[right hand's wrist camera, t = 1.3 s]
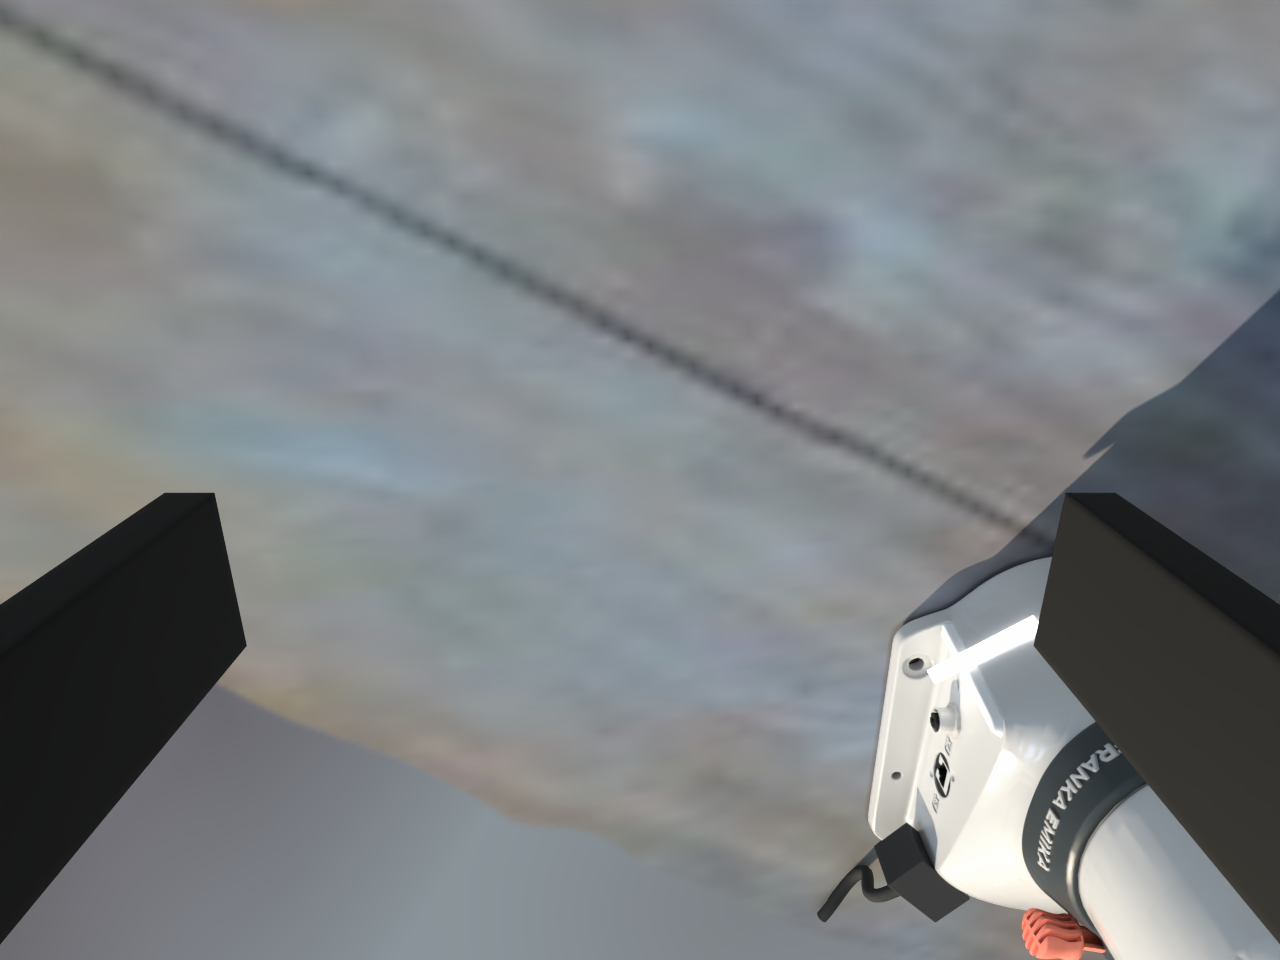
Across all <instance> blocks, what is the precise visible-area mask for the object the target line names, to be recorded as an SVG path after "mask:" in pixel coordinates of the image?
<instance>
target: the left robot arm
mask: <svg viewBox="0 0 1280 960" xmlns="http://www.w3.org/2000/svg"><path fill="white" fill-rule="evenodd" d="M1051 560H1052V557H1046V558H1041V559H1037V560H1033V561H1030V562H1027V563H1023V564H1021V565H1018V566H1015V567H1013V568H1011V569H1008V570H1006V571H1004V572H1002V573H1000V574H998V575H996V576H994V577H993V578H991V579H989V580H987V581H986V582H984V583H983V584H981V585H980V586H978V587H977V588H976V589H974V590H973V591H972V592H971V593H969V594H968V595H967V596H965V597H964V598H963V599H961V600H960V601H958V602H957V603H955V604H954V605H952V606H951V607H949V608H947V609H945V610H941V611H938V612H935V613H932V614H929V615H926V616H923V617H920V618H917V619H915V620H913V621H910V622H908V623H907V624H905V625H903V626H902V627H901V628H900V629H899V630H898V631H897V632H896V634H895V636H894V639H893V644H892V651H891V658H890V665H889V672H888V679H887V686H886V693H885V700H884V707H883V714H882V720H881V727H880V734H879V741H878V748H877V755H876V762H875V769H874V776H873V783H872V790H871V797H870V804H869V812H868V822H869V824H870V826H871V828H872V830H873V832H874V834H875V835H876V836H877V837H878V838H879V839H881V840H882V841H880V842H879V843H878V844H876V845H875V846H874V847H875V850H876V853H877V856H878V859H879V862H880V865H881V867H882V870H883V873H884V876H885V879H886V882H887V886H885V887H882V888H879V889H874V879H873V873H872V870H871V869H870V868H869V867H867V866H858V867H856V868H854V869H853V870H852V871H850V872H849V873H848V874H847V875H846V876H845V877H844V879H843V880H842V881H841V882H840V883H839V885H838V886H837V887H836V889H835V890H834V892H833V893H832V895H831V896H830V897H829V899H828V900H827V902H826V903H825V904H824V906H823V907H822V908H821V909H820V910H819V912H818V913H817V914H818V917H819V919H820V920H821V921H823V922H826V921H827V920H828V919H829V918H830V916H831V915H832V914H833V913H834V911H835V910H836V909H837V907H838V906H839V904H840V903H841V902H842V900H843V899H844V897H845V896H846V895H847V893H848V892H849V891H850V889H851V888H852V887H853V886H854V885H855V884H856V883H857V882H858V881H859V880H861V884H862V891H863V894H864V896H865V897H866V898H867V899H868V900H869V901H872V902H885V901H889V900H891V899H894V898H896V897H899V896H902V897H903V898H904V899H905V900H907V901H908V902H909V903H911V904H912V905H913V906H915V907H916V908H917V909H918V910H920V911H921V912H922V913H924V914H925V915H926V916H927V917H929V918H930V919H931V920H933V921H934V922H937V921H938V920H940V919H941V918H943V917H944V916H946V915H947V914H949V913H950V912H952V911H953V910H954V909H956V908H957V907H959V906H960V905H962V904H963V903H965V902H966V901H968V900H969V899H970V898H969V896H968V895H970V896H973V897H975V898H977V899H980V900H983V901H987V902H990V903H993V904H997V905H1001V906H1005V907H1010V908H1016V909H1022V910H1027V911H1026V913H1025V915H1024V917H1023V922H1022V930H1024V931H1023V939H1024V941H1026V948H1027V949H1028V950H1030V954H1031V955H1032V956H1036V958H1041V959H1052V958H1061V959H1063V960H1079V959H1080V958H1081V956H1082V953H1083V950H1088V951H1095V952H1101V953H1103V954H1104V956H1105V958H1106V959H1108V960H1280V944H1279V943H1278V942H1277V940H1276V939H1275V938H1274V937H1273V935H1272V934H1271V933H1270V932H1269V931H1268V929H1267V928H1266V927H1265V926H1264V925H1263V923H1262V922H1261V921H1260V920H1259V919H1258V917H1257V916H1256V915H1255V914H1254V912H1253V911H1252V910H1251V909H1250V908H1249V906H1248V905H1247V904H1246V903H1245V902H1244V900H1243V899H1242V898H1241V897H1240V896H1239V894H1238V893H1237V892H1236V891H1235V889H1234V888H1233V887H1232V886H1231V885H1230V883H1229V882H1228V881H1227V880H1226V879H1225V877H1224V876H1223V875H1222V874H1221V872H1220V871H1219V870H1218V869H1217V868H1216V866H1215V865H1214V864H1213V863H1212V862H1211V860H1210V859H1209V858H1208V857H1207V856H1206V854H1205V853H1204V852H1203V851H1202V849H1201V848H1200V847H1199V846H1198V845H1197V843H1196V842H1195V841H1194V840H1193V839H1192V837H1191V836H1190V835H1189V834H1188V833H1187V831H1186V830H1185V829H1184V828H1183V826H1182V825H1181V824H1180V823H1179V822H1178V820H1177V819H1176V818H1175V817H1174V816H1173V814H1172V813H1171V812H1170V811H1169V810H1168V808H1167V807H1166V806H1165V805H1164V803H1163V802H1162V801H1161V800H1160V799H1159V797H1158V796H1157V795H1156V794H1155V793H1154V791H1153V790H1152V789H1151V788H1150V786H1149V785H1148V784H1147V783H1146V782H1145V780H1144V779H1143V778H1142V777H1141V776H1140V774H1139V773H1138V772H1137V771H1136V770H1135V768H1134V767H1133V766H1132V765H1131V763H1130V762H1129V761H1128V760H1127V759H1126V757H1125V756H1124V755H1123V754H1122V753H1121V751H1120V750H1119V749H1118V748H1117V747H1116V745H1115V744H1114V743H1113V742H1112V740H1111V739H1110V738H1109V737H1108V736H1107V734H1106V733H1105V732H1104V731H1103V730H1102V728H1101V727H1100V726H1099V725H1098V723H1097V722H1096V721H1095V720H1094V719H1093V717H1092V716H1091V715H1090V714H1089V713H1088V711H1087V710H1086V709H1085V708H1084V707H1083V705H1082V704H1081V703H1080V702H1079V700H1078V699H1077V698H1076V697H1075V696H1074V694H1073V693H1072V692H1071V691H1070V690H1069V688H1068V687H1067V686H1066V685H1065V684H1064V682H1063V681H1062V680H1061V679H1060V677H1059V676H1058V675H1057V674H1056V673H1055V671H1054V670H1053V669H1052V668H1051V667H1050V665H1049V664H1048V663H1047V662H1046V661H1045V659H1044V658H1043V657H1042V656H1041V654H1040V653H1039V652H1038V651H1037V650H1036V648H1035V647H1034V646H1033V645H1034V640H1035V636H1036V631H1037V626H1038V621H1039V617H1040V612H1041V607H1042V602H1043V598H1044V593H1045V588H1046V583H1047V579H1048V574H1049V569H1050V565H1051ZM914 658H920V659H919V660H918V661H917V662H916V663H910V661H911V660H912V659H914ZM1052 913H1061V914H1052ZM1067 913H1068V914H1067ZM1076 920H1077V921H1078V922H1080V923H1081V924H1082V925H1084V926H1080V925H1079V923H1078V922H1077V921H1076Z"/></svg>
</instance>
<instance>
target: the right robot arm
mask: <svg viewBox="0 0 1280 960" xmlns="http://www.w3.org/2000/svg"><path fill="white" fill-rule="evenodd" d="M246 646H247V645H246V640H245V636H244V631H243V626H242V621H241V617H240V612H239V607H238V602H237V598H236V593H235V588H234V583H233V579H232V574H231V569H230V565H229V560H228V555H227V550H226V546H225V541H224V536H223V531H222V527H221V522H220V517H219V512H218V508H217V503H216V498H215V493H164V494H162V495H161V496H159V497H158V498H156V499H155V500H153V501H152V502H151V503H149V504H148V505H146V506H145V507H143V508H142V509H140V510H139V511H137V512H136V513H134V514H133V515H131V516H130V517H129V518H127V519H126V520H124V521H123V522H121V523H120V524H118V525H117V526H115V527H114V528H112V529H111V530H109V531H108V532H106V533H105V534H104V535H102V536H101V537H99V538H98V539H96V540H95V541H93V542H92V543H90V544H89V545H87V546H86V547H84V548H83V549H82V550H80V551H79V552H77V553H76V554H74V555H73V556H71V557H70V558H68V559H67V560H65V561H64V562H62V563H61V564H59V565H58V566H57V567H55V568H54V569H52V570H51V571H49V572H48V573H46V574H45V575H43V576H42V577H40V578H39V579H37V580H36V581H35V582H33V583H32V584H30V585H29V586H27V587H26V588H24V589H23V590H21V591H20V592H18V593H17V594H15V595H14V596H12V597H11V598H10V599H8V600H7V601H5V602H4V603H2V604H1V605H0V944H1V943H2V942H3V940H4V939H5V938H6V937H7V935H8V934H9V933H10V932H11V931H12V929H13V928H14V927H15V926H16V925H17V923H18V922H19V921H20V920H21V919H22V917H23V916H24V915H25V914H26V912H27V911H28V910H29V909H30V908H31V906H32V905H33V904H34V903H35V901H36V900H37V899H38V898H39V897H40V895H41V894H42V893H43V892H44V891H45V889H46V888H47V887H48V886H49V884H50V883H51V882H52V881H53V880H54V878H55V877H56V876H57V875H58V874H59V872H60V871H61V870H62V869H63V868H64V866H65V865H66V864H67V863H68V862H69V860H70V859H71V858H72V857H73V856H74V854H75V853H76V852H77V851H78V849H79V848H80V847H81V846H82V845H83V843H84V842H85V841H86V840H87V839H88V837H89V836H90V835H91V834H92V833H93V831H94V830H95V829H96V828H97V826H98V825H99V824H100V823H101V822H102V820H103V819H104V818H105V817H106V816H107V814H108V813H109V812H110V811H111V809H112V808H113V807H114V806H115V805H116V803H117V802H118V801H119V800H120V799H121V797H122V796H123V795H124V794H125V792H126V791H127V790H128V789H129V788H130V786H131V785H132V784H133V783H134V782H135V780H136V779H137V778H138V777H139V776H140V774H141V773H142V772H143V771H144V769H145V768H146V767H147V766H148V765H149V763H150V762H151V761H152V760H153V759H154V757H155V756H156V755H157V754H158V753H159V751H160V750H161V749H162V748H163V746H164V745H165V744H166V743H167V742H168V740H169V739H170V738H171V737H172V736H173V734H174V733H175V732H176V731H177V730H178V728H179V727H180V726H181V725H182V723H183V722H184V721H185V720H186V719H187V717H188V716H189V715H190V714H191V713H192V711H193V710H194V709H195V708H196V706H197V705H198V704H199V703H200V702H201V700H202V699H203V698H204V697H205V696H206V694H207V693H208V692H209V691H210V690H211V688H212V687H213V686H214V685H215V684H216V682H217V681H218V680H219V679H220V677H221V676H222V675H223V674H224V673H225V671H226V670H227V669H228V668H229V667H230V665H231V664H232V663H233V662H234V660H235V659H236V658H237V657H238V656H239V654H240V653H241V652H242V651H243V650H244V648H245V647H246ZM1033 646H1034V647H1035V648H1036V650H1037V651H1038V652H1039V653H1040V654H1041V656H1042V657H1043V658H1044V659H1045V661H1046V662H1047V663H1048V664H1049V665H1050V667H1051V668H1052V669H1053V670H1054V671H1055V673H1056V674H1057V675H1058V676H1059V677H1060V679H1061V680H1062V681H1063V682H1064V684H1065V685H1066V686H1067V687H1068V688H1069V690H1070V691H1071V692H1072V693H1073V694H1074V696H1075V697H1076V698H1077V699H1078V700H1079V702H1080V703H1081V704H1082V705H1083V707H1084V708H1085V709H1086V710H1087V711H1088V713H1089V714H1090V715H1091V716H1092V717H1093V719H1094V720H1095V721H1096V722H1097V723H1098V725H1099V726H1100V727H1101V728H1102V730H1103V731H1104V732H1105V733H1106V734H1107V736H1108V737H1109V738H1110V739H1111V740H1112V742H1113V743H1114V744H1115V745H1116V747H1117V748H1118V749H1119V750H1120V751H1121V753H1122V754H1123V755H1124V756H1125V757H1126V759H1127V760H1128V761H1129V762H1130V763H1131V765H1132V766H1133V767H1134V768H1135V770H1136V771H1137V772H1138V773H1139V774H1140V776H1141V777H1142V778H1143V779H1144V780H1145V782H1146V783H1147V784H1148V785H1149V786H1150V788H1151V789H1152V790H1153V791H1154V793H1155V794H1156V795H1157V796H1158V797H1159V799H1160V800H1161V801H1162V802H1163V803H1164V805H1165V806H1166V807H1167V808H1168V810H1169V811H1170V812H1171V813H1172V814H1173V816H1174V817H1175V818H1176V819H1177V820H1178V822H1179V823H1180V824H1181V825H1182V826H1183V828H1184V829H1185V830H1186V831H1187V833H1188V834H1189V835H1190V836H1191V837H1192V839H1193V840H1194V841H1195V842H1196V843H1197V845H1198V846H1199V847H1200V848H1201V849H1202V851H1203V852H1204V853H1205V854H1206V856H1207V857H1208V858H1209V859H1210V860H1211V862H1212V863H1213V864H1214V865H1215V866H1216V868H1217V869H1218V870H1219V871H1220V872H1221V874H1222V875H1223V876H1224V877H1225V879H1226V880H1227V881H1228V882H1229V883H1230V885H1231V886H1232V887H1233V888H1234V889H1235V891H1236V892H1237V893H1238V894H1239V896H1240V897H1241V898H1242V899H1243V900H1244V902H1245V903H1246V904H1247V905H1248V906H1249V908H1250V909H1251V910H1252V911H1253V912H1254V914H1255V915H1256V916H1257V917H1258V919H1259V920H1260V921H1261V922H1262V923H1263V925H1264V926H1265V927H1266V928H1267V929H1268V931H1269V932H1270V933H1271V934H1272V935H1273V937H1274V938H1275V939H1276V940H1277V942H1278V943H1279V944H1280V605H1279V604H1278V603H1276V602H1275V601H1273V600H1272V599H1270V598H1269V597H1268V596H1266V595H1265V594H1263V593H1262V592H1260V591H1259V590H1257V589H1256V588H1254V587H1253V586H1251V585H1250V584H1248V583H1247V582H1245V581H1244V580H1243V579H1241V578H1240V577H1238V576H1237V575H1235V574H1234V573H1232V572H1231V571H1229V570H1228V569H1226V568H1225V567H1223V566H1222V565H1221V564H1219V563H1218V562H1216V561H1215V560H1213V559H1212V558H1210V557H1209V556H1207V555H1206V554H1204V553H1203V552H1201V551H1200V550H1198V549H1197V548H1196V547H1194V546H1193V545H1191V544H1190V543H1188V542H1187V541H1185V540H1184V539H1182V538H1181V537H1179V536H1178V535H1176V534H1175V533H1174V532H1172V531H1171V530H1169V529H1168V528H1166V527H1165V526H1163V525H1162V524H1160V523H1159V522H1157V521H1156V520H1154V519H1153V518H1151V517H1150V516H1149V515H1147V514H1146V513H1144V512H1143V511H1141V510H1140V509H1138V508H1137V507H1135V506H1134V505H1132V504H1131V503H1129V502H1128V501H1127V500H1125V499H1124V498H1122V497H1121V496H1119V495H1118V494H1116V493H1065V498H1064V503H1063V508H1062V512H1061V517H1060V522H1059V527H1058V531H1057V536H1056V541H1055V546H1054V550H1053V555H1052V560H1051V565H1050V569H1049V574H1048V579H1047V583H1046V588H1045V593H1044V598H1043V602H1042V607H1041V612H1040V617H1039V621H1038V626H1037V631H1036V636H1035V640H1034V645H1033Z"/></svg>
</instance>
